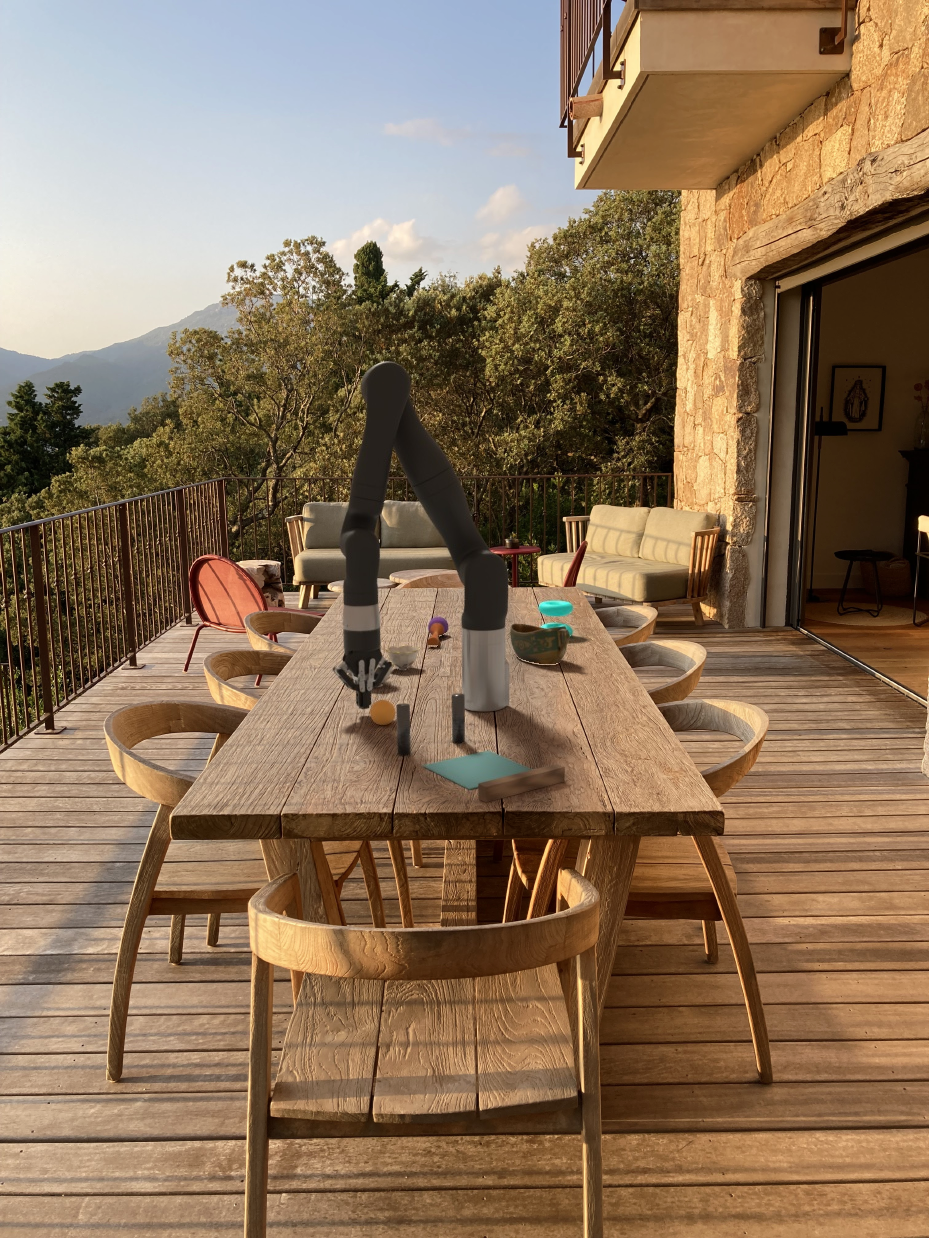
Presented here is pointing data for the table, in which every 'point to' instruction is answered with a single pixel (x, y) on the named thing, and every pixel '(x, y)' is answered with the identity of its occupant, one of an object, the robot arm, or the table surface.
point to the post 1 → (403, 729)
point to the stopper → (521, 782)
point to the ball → (382, 712)
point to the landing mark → (476, 768)
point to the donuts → (556, 612)
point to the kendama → (436, 629)
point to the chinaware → (398, 659)
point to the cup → (539, 643)
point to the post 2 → (458, 718)
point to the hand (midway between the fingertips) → (364, 708)
